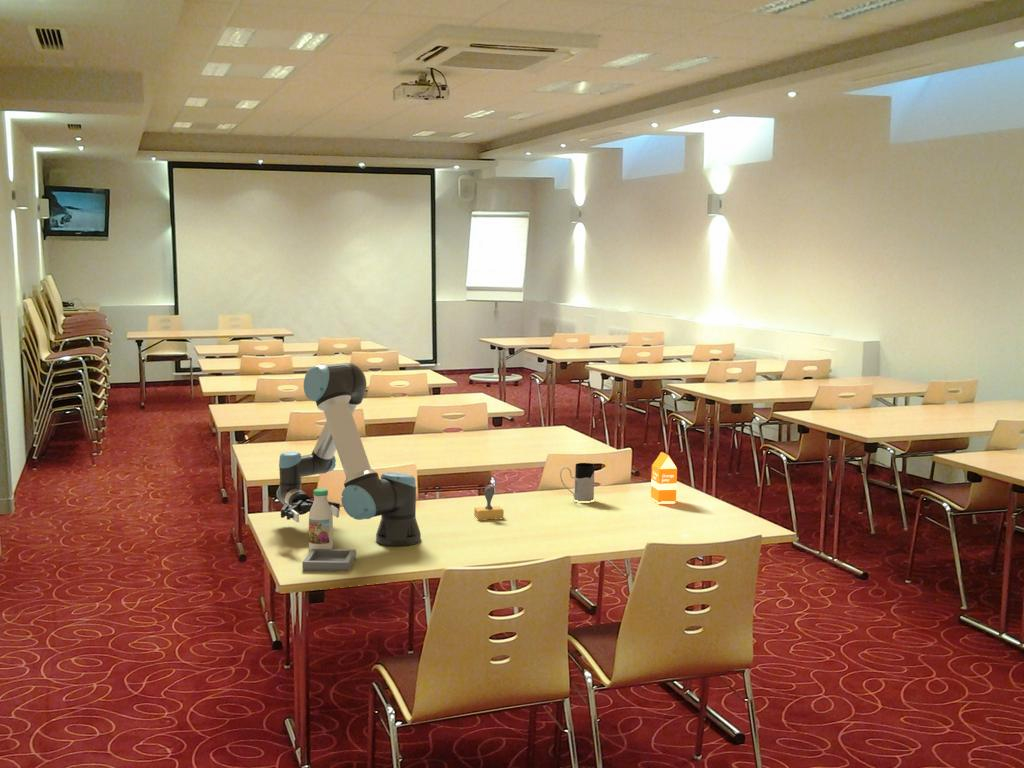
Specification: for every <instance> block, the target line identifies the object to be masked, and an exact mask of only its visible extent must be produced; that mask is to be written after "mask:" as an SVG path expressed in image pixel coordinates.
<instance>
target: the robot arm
mask: <svg viewBox="0 0 1024 768" xmlns="http://www.w3.org/2000/svg"><path fill="white" fill-rule="evenodd" d="M303 390H304V391H303V392H304V395H305V397H306V398H307V399H308V400H309V401H312V402H315V405H316V407H317V409H318V410H320V411H322V412H323V414H324V416H325V419H326V421H325V423H324V425H323V428H322V430H321V432H320V434H319V435H318V438H317V441H316V443H315V446H314V448H313V450H312V451H311V454H304V455H302V454H301V453H300V452H299V451H285V452H282V453H281V454H279V462H278V467H279V469H278V470H279V487H278V488H277V490H276V497H277V499H278V501H279V502H280V504H281V505H283V506H282V508H281V510H280V518H282V519H283V518H285V517H286V520H287V521H288V520H293V521H295V523H300V515H305V514H307V513H310V509H311V507H312V505H313V502H314V500H313V499H312V497H311V496H310V495H309V494H307V493H306V492H304V491H303V490H302V478H304V477H309V476H315V475H321V474H326V473H329V472H332V471H333V470H334V469H335V468H336V465H337V464H336V463H337V459H336V456H335V453H336V452H337V454H338V457H339V461H340V462H341V466H342V468H343V472H344V475H345V478H346V479H345V480H344V482H343V487H344V488H343V490H342V492H341V504H342V507H343V509H344V511H345V513H346V514H347V515H348V516H349V517H350V518H353V519H354V520H358V521H360V520H370V519H372V518H374V517H380V522H379V523H378V526H377V530H376V533H375V541H376V542H377V543H378V544H380V545H383V546H390V547H402V546H403V547H405V546H406V547H407V546H410V545H411V546H412V545H416V544H418V543H420V541H421V536H422V535H421V530H420V527H419V525H418V521H417V518H416V507H417V506H416V505H417V504H416V503H417V502H416V501H417V500H416V499H417V485H416V484H417V483H416V478H415V476H414V475H412V474H409V473H403V472H392V471H391V472H383V473H381V475H380V476H379V474H378V472H377V471H376V470H373V469H372V468H371V464H370V462H369V459H368V456H367V453H366V450H365V448H364V445H363V441H362V439H361V436H360V433H359V430H358V427H357V424H356V422H355V418H354V412H355V410H356V408H357V406H358V405H360V404H362V402H363V400H364V398H365V394H366V392H367V391H366V390H367V378H366V375H365V373H364V371H363V370H362V369H361V367H359V366H358V365H356V364H354V363H351V362H342V363H331V364H330V363H329V364H323V363H322V364H320V365H315V366H312V367H310V368H309V369H308V370H307V372H306V373H305V376H304V379H303ZM328 503H329V506H330V508H331V510H332V516H334V517H335V518H340V511H341V508H340V506H341V504H340V503H339V502H333V501H332V502H331V501H328ZM415 543H416V544H415Z"/></svg>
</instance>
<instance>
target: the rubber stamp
mask: <svg viewBox="0 0 1024 768" xmlns="http://www.w3.org/2000/svg"><path fill="white" fill-rule="evenodd" d="M493 496H494V489H493V487H491V486H486V488H485V489H484V497H485V499H486V506H479V507H474V509H473V510H474V515H473V517H474V516H475V517H476V518H477V519H478V520H477V519H476V518H475V517H474V518H475V519H476V520H477V521H483V520H482V519H495V518H503V519H504V515H505V514H504V511H505V510H504V509H503V508H502V507H501V506H500V505H499V506H498V505H496V506H492V505H491V503H492V499H493ZM495 520H496V519H495Z"/></svg>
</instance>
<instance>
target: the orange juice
mask: <svg viewBox="0 0 1024 768" xmlns="http://www.w3.org/2000/svg"><path fill="white" fill-rule="evenodd" d="M650 480H651V482H650V485H651V486H650V498H651V497H652V498H654V499H655V500H657V501H658V502H661V501H676V502H677V486H678V485H677V484H678V483H677V481H678V468H677V466H676V464H675V463H674V461H673V460H672V458H671V457H670V455H669V454H667V453H665V452H663V451H661V452H660V453H659V454H658V456H657V458H656V459H655V460H654V462H653V463H652V464H651V479H650Z"/></svg>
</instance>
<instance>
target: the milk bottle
mask: <svg viewBox="0 0 1024 768" xmlns="http://www.w3.org/2000/svg"><path fill="white" fill-rule="evenodd" d="M328 493H329V491H328V489H327V488H315V489H314V490H313V498H314V499H313V501H314V502H313V505H312V507H311V509H310V512H308V549H309V551H311V550H312V549H334V548H333V547H334V524H333V523H334V522H333V516H334V515H332V510H331V508H330V506H329V503H328V502H329V500H328V496H329V494H328Z"/></svg>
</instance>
